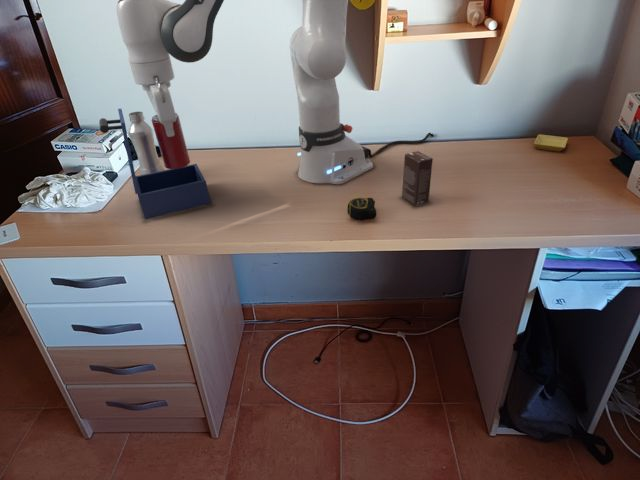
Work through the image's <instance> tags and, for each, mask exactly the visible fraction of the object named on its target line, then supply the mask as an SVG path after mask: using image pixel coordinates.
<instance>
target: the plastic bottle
mask: <svg viewBox="0 0 640 480" xmlns="http://www.w3.org/2000/svg"><path fill="white" fill-rule="evenodd" d="M128 117H129V122H130V126H129V128H128V136H129V139H130V141H131V143H132V145H133V147H134V150H135V152H136V156H137V160H138V164H139V172H140V175H144V174H149V173H154V172H159V171H163V170H165V169H164V167H163V165H162V163H161V160H160V158H159V155H158V152H157V148H156V144H155V143H156V142H155V136H154V129H153V128H152V127H151V126H150V124H149V123H147V122H146V121H145V120H146V119H145V116H144V113H143V111H133V112H130V113H128Z"/></svg>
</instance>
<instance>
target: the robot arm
mask: <svg viewBox="0 0 640 480" xmlns="http://www.w3.org/2000/svg"><path fill="white" fill-rule="evenodd" d="M224 1H225V0H184V2H183V3H182V4H181V3H177V2H173V1H170V0H118V1H117V4H116V17H117V22H118V26H119V31H120V34H121V38H122V42H123V43H124V44H125V46H126V48H127V51H128V63H129V65H130V69H131V72H132V76H133V79H134V82H135V84H136V85H138V86H141V88H142V90H143V91H145V92H146V95H147V96H148V99H149V101H150V103H151V105H152V108H153V109H154V112H155V115H157V116H158V118H159V120H160V122H161V123H162V124H163V125H164V127H165V131H166V134H167V136H168V137H171V136H174V135H175V134H174V130H173V122H175V121H176V114H175V113H176V110H175V106H174V103H173V98H172V95H171V92H170V89H169V88H170V87H171V86H172V84H171V81H172V80H174V79H175V74H174V69H173V64H172V60H171V57H172V58H174V59H175V60H177V61H179V62H183V63H187V64H188V63H189V64H190V63H196V62H198V61H201V60H202V59H204V58H205V57H206V56H207V55H208V54H209V52H210V50H211V48H212V43H213V38H214V37H213V35H214V25H215V20H216V18H217V15H218V14H219V12H220V10H221V7H222V5H223V3H224ZM348 6H349V0H302V20H301V21H302V22H301V26H300V27H298V28H297V29H295V31H294V32H293V33H292V35H291V37H290V40H289V52H290V60H291V68H292V74H293V79H294V85H295V91H296V95H297V105H298V107H297V108H298V118H299V119H298V120H299V127H298V140H299V141H298V142H299V146H300V152H297V156H299V157H300V161H299V167H298V171H297V176H298V177H299V179H301V180H302V181H304V182H307V183H311V184H333V185H342V184H344V183H346V182H348V181H350V180H352V179H354V178H356V177H357V176H360V175H362V174H364V173H366V172H368V171H370V170H372V169H373V168H374V164H373V162H372V161H371V160H370V159H369V158H373V157H375V156H377V155H379V154H380V153H381V152H383V150H385V149H387V148H389V147H390V146H392V145H396V144H397V145H398V144H408V145H409V144H410V145H411V144H412V145H413V144H414V145H415V144H416V145H417V144H422V143H424V142H425V141H427V140H428V138H429V137H435V135H434V134H433V133H432V132H428V133H427V134H426V135H425V137H423V138H422V139H419V140H394V141H391V142H388V143H386V144H385V145H383V146H382V147H380V148H379V149H377V150H376V151H375V152H374V153H373V154H372V150H371V149H370V148H368V147H366V146H363V145H362V144H360V143H358V142H357V141H356V140H353V139H352V138H350V137H349V136H347V135H346V133H348V134H351V133H352V131H353V126H352V125H349V124H347V123H346V124H344V123H341V115H340V111H341V110H340V95H339V92H338V88H337V81H336V77H338V76H339V75H340V74H341V73H342V71H343V70H344V68H345V66H346V63H347V53H346V51H347V50H346V37H347V18H348V17H347V15H348ZM345 132H346V133H345ZM431 133H432V134H431Z"/></svg>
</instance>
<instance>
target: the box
mask: <svg viewBox="0 0 640 480" xmlns="http://www.w3.org/2000/svg"><path fill="white" fill-rule="evenodd" d="M433 160H434V158H433V157H430V156H429V155H427V154H425V153H422V152H420V151H419V150H418V151H413V152H408V153H405V154H404V162H403V177H402V191H401V198H402V199H404V200H405V201H406V202H408V203H410V204H411V205H412V206H414V207H420V206H423V205H425V204H428V203H429V199H430V189H431V179H432V169H433V168H432V167H433Z"/></svg>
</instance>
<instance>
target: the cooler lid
mask: <svg viewBox="0 0 640 480" xmlns="http://www.w3.org/2000/svg"><path fill="white" fill-rule="evenodd" d="M117 111H118V112H117V113H118V116H119V117H118V118H119V119H108V120H107V119H106V118H104V117H102V118H100V119H99V122H98V123H99V131H100V132H101V133H103V134H107V133H108V132H109V131H113V130H115V131H116V130H122V135H123V140H124V146H125V151H126V155H127V160H128V165H129V170H130V175H131V179H132V184H133V189H134V193H135V195H138V194H139V191H138V186H137V181H136V176H137V175H136V172H135V167H134V162H133V157H132V152H131V147H130V141H129V137H128V136H129V135H128V132H127V131H128V130H127V126H126V122H125V118H124V113H123V109H122V108H117ZM111 124H112V125H111ZM113 124H118V125H113ZM119 124H120V125H119Z"/></svg>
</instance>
